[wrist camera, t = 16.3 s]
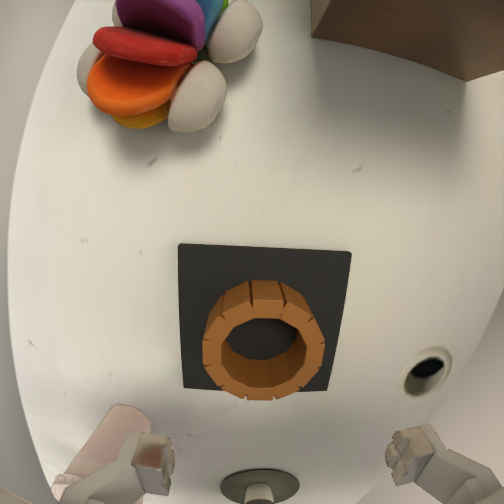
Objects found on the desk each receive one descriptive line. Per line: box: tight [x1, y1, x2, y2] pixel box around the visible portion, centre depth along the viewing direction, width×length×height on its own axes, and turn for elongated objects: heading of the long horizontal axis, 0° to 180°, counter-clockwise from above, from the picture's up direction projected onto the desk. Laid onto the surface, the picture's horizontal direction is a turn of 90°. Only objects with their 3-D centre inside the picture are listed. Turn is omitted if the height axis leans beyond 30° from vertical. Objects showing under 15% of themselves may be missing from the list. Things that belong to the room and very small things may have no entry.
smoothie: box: [51, 405, 151, 504], centre depth 14 cm, size 6×6×14 cm
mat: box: [178, 243, 352, 392], centre depth 19 cm, size 10×10×1 cm
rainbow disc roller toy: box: [77, 0, 263, 133], centre depth 11 cm, size 8×10×7 cm
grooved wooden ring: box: [202, 280, 325, 400], centre depth 17 cm, size 6×6×3 cm
